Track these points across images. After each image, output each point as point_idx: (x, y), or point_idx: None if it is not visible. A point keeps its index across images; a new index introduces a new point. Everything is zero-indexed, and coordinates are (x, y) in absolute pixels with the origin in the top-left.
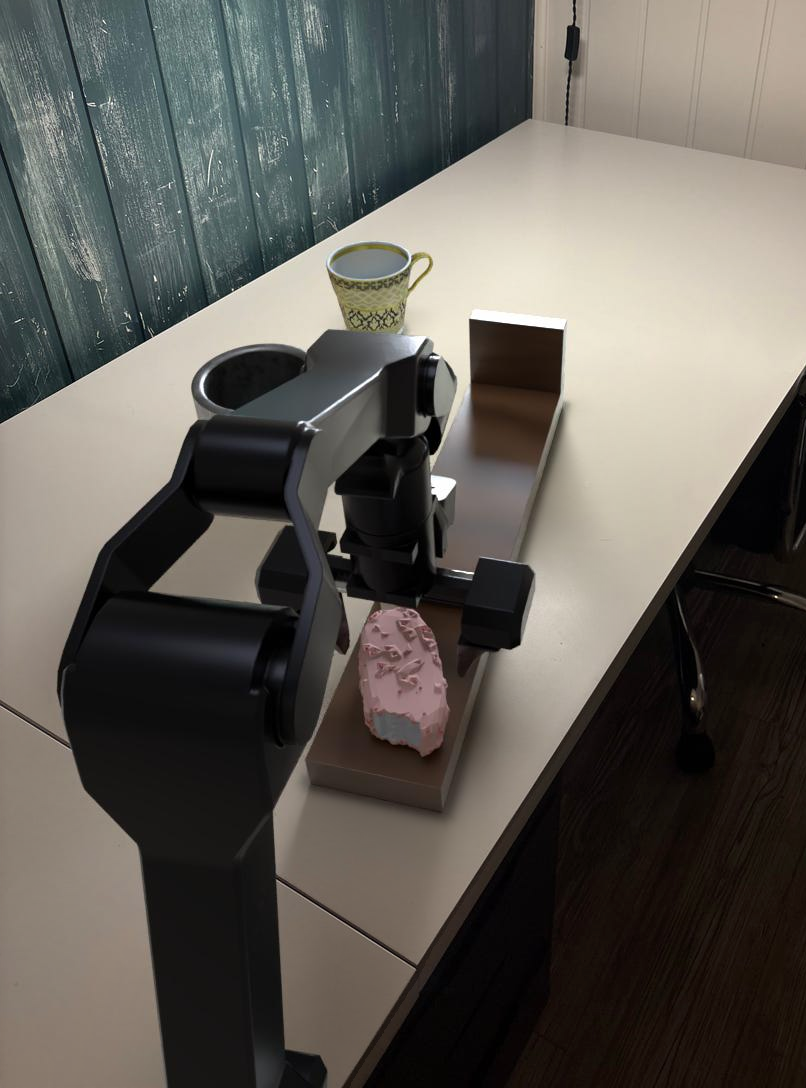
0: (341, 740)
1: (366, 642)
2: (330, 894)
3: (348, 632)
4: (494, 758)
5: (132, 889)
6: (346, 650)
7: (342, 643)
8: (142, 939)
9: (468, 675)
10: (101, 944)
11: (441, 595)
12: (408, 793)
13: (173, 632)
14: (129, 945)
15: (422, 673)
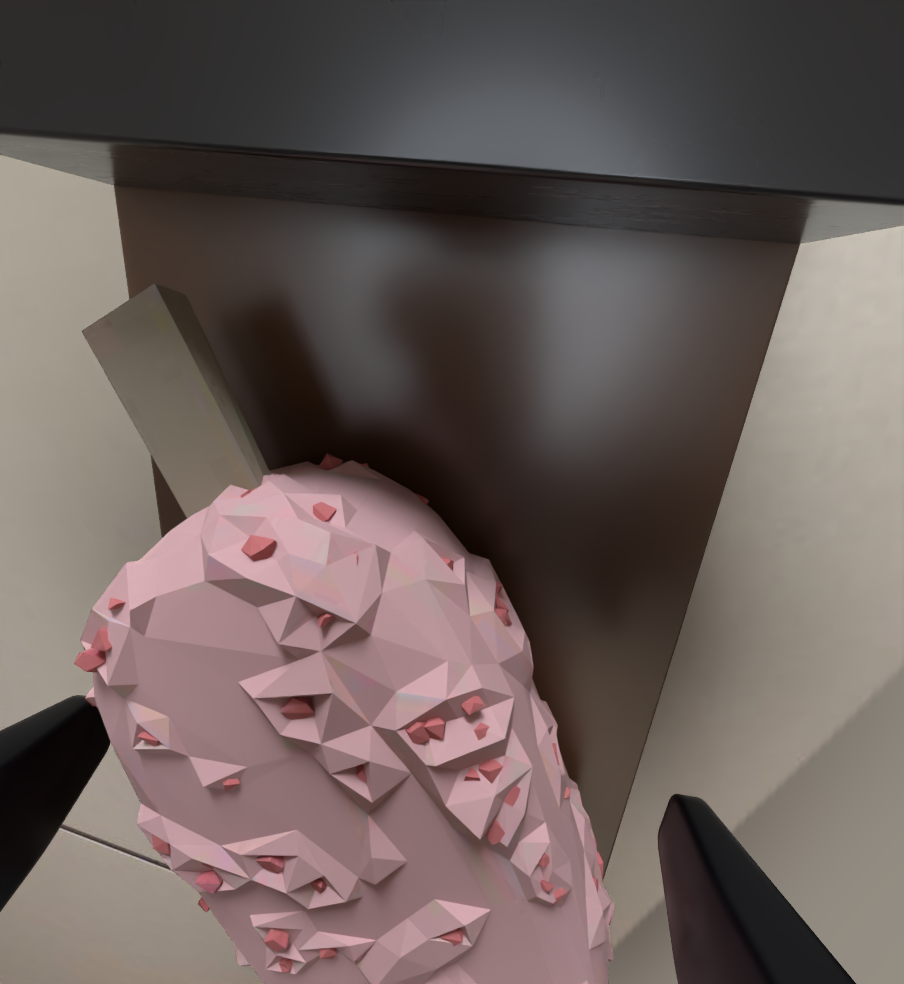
0: None
1: (149, 800)
2: None
3: (25, 763)
4: (703, 714)
5: (68, 914)
6: (100, 739)
7: (32, 844)
8: (131, 965)
9: (655, 621)
10: (82, 966)
11: None
12: None
13: None
14: (119, 969)
15: (490, 966)
